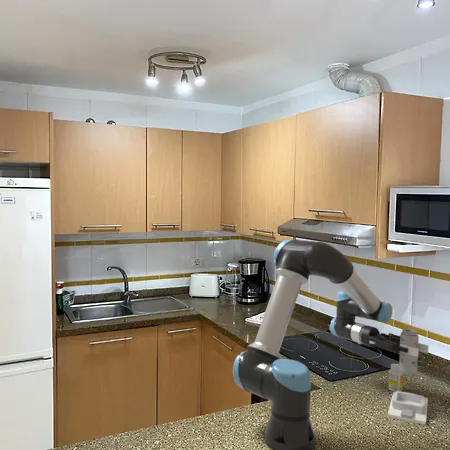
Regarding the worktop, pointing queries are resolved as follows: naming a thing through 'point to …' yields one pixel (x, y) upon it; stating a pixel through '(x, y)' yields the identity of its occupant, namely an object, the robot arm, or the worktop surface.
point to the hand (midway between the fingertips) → (422, 351)
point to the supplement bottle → (395, 378)
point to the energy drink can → (408, 361)
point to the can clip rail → (408, 407)
